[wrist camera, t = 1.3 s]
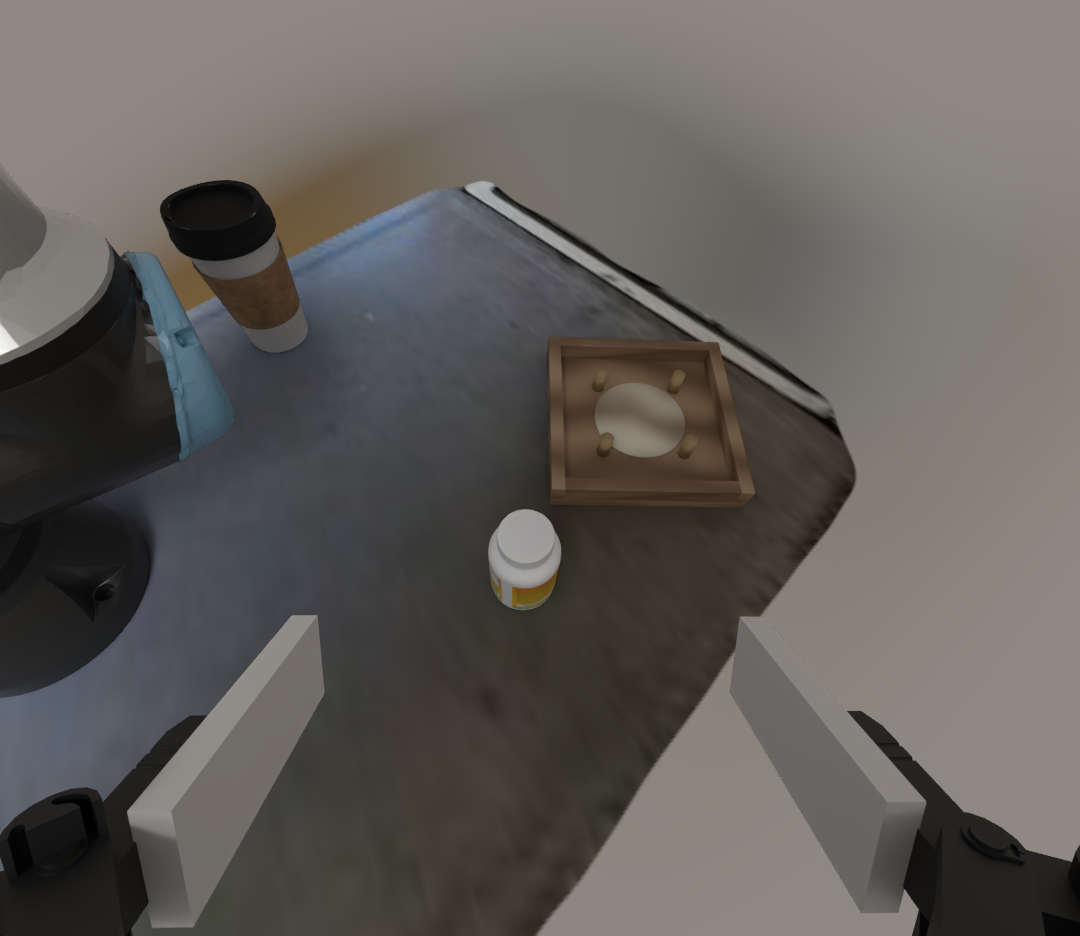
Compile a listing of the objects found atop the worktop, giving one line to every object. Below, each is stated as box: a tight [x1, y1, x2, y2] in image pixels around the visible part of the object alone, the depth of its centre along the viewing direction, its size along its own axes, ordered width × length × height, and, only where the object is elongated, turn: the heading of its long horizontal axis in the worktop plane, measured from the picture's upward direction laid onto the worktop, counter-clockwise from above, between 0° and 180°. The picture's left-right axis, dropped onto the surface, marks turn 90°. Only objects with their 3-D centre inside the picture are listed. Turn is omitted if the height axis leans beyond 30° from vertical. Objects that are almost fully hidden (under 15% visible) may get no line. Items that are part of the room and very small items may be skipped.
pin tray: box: [547, 337, 755, 508], centre depth 50 cm, size 18×18×4 cm
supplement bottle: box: [488, 509, 561, 610], centre depth 38 cm, size 5×5×10 cm
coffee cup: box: [160, 180, 308, 353], centre depth 49 cm, size 8×8×15 cm
